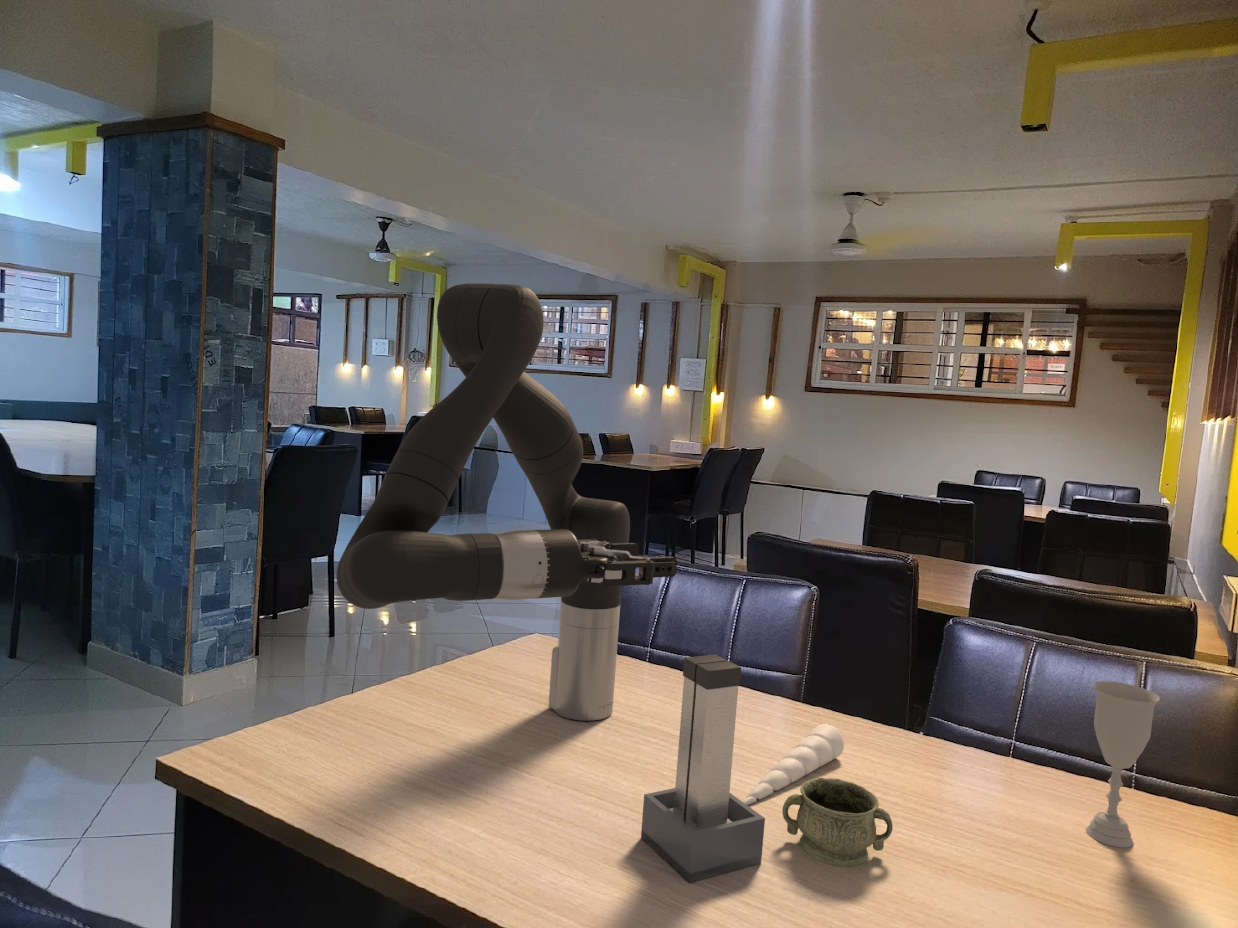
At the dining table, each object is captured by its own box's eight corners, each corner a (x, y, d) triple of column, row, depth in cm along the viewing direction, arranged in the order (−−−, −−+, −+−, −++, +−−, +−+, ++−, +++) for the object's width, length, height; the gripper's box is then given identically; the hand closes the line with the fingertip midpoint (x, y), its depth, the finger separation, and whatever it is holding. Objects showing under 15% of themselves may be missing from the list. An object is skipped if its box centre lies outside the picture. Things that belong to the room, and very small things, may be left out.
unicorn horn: (716, 797, 102) (719, 760, 102) (814, 750, 119) (817, 718, 119) (747, 812, 99) (751, 774, 99) (844, 761, 116) (847, 728, 116)
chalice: (1142, 858, 94) (1161, 706, 93) (1075, 838, 98) (1092, 692, 96) (1142, 833, 100) (1158, 690, 99) (1078, 815, 104) (1094, 677, 103)
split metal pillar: (691, 858, 85) (706, 671, 84) (666, 834, 90) (680, 657, 88) (730, 848, 88) (745, 667, 87) (703, 826, 92) (717, 653, 91)
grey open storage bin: (688, 883, 83) (692, 835, 82) (640, 837, 91) (644, 794, 90) (761, 863, 87) (765, 818, 87) (709, 821, 95) (712, 780, 95)
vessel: (779, 859, 89) (784, 803, 88) (780, 820, 97) (784, 769, 97) (894, 879, 86) (900, 822, 86) (885, 837, 95) (890, 785, 94)
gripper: (560, 542, 83) (691, 538, 91) (507, 520, 95) (627, 518, 103) (556, 614, 83) (686, 604, 92) (504, 583, 96) (623, 576, 104)
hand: (655, 558), depth 97 cm, fingers open, 8 cm apart
